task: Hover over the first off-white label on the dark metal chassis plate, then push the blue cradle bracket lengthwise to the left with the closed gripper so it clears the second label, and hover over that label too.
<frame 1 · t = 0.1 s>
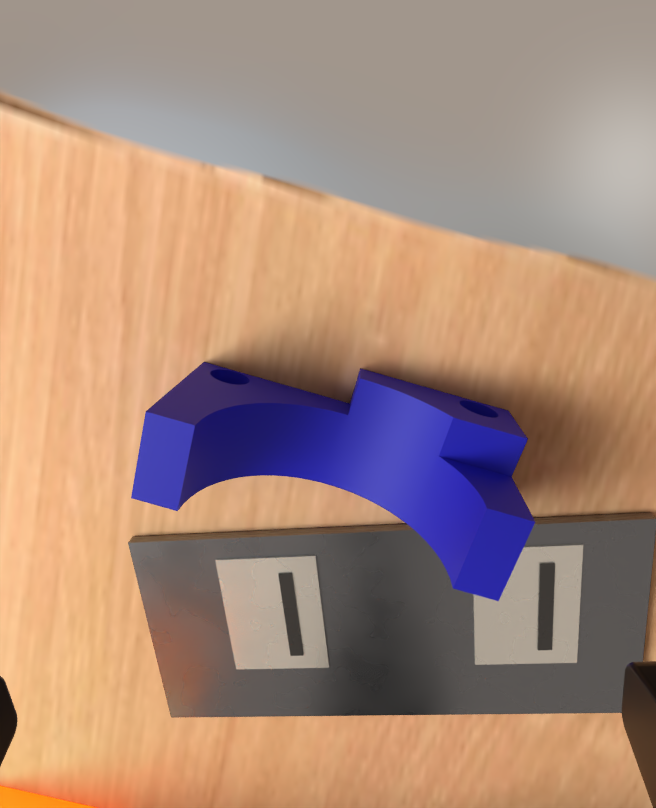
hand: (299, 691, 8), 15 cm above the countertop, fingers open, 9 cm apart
chassis plate: (386, 621, 25), on the countertop
blue cradle bracket: (345, 417, 22), on the countertop
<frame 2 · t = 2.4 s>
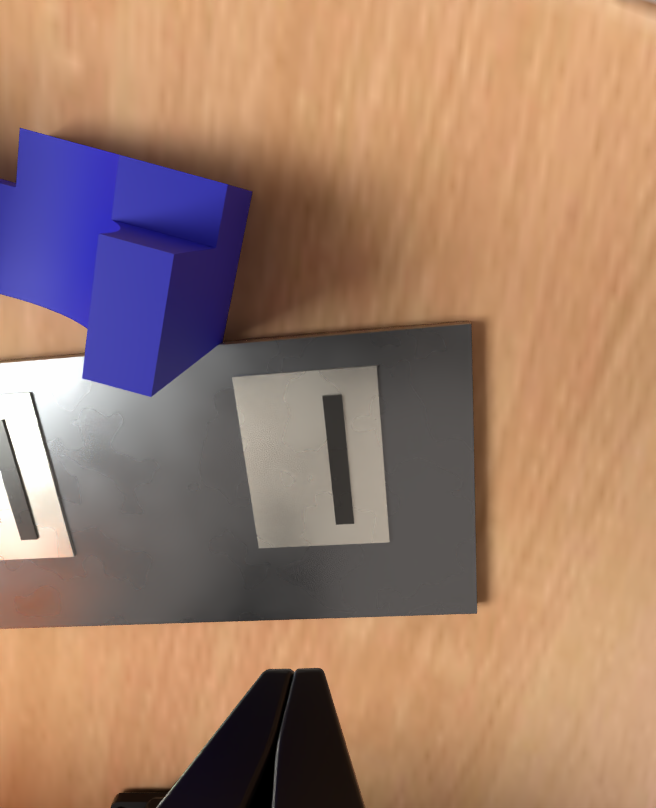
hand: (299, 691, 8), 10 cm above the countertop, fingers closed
chassis plate: (146, 493, 19), on the countertop
blue cradle bracket: (48, 216, 17), on the countertop, touching chassis plate
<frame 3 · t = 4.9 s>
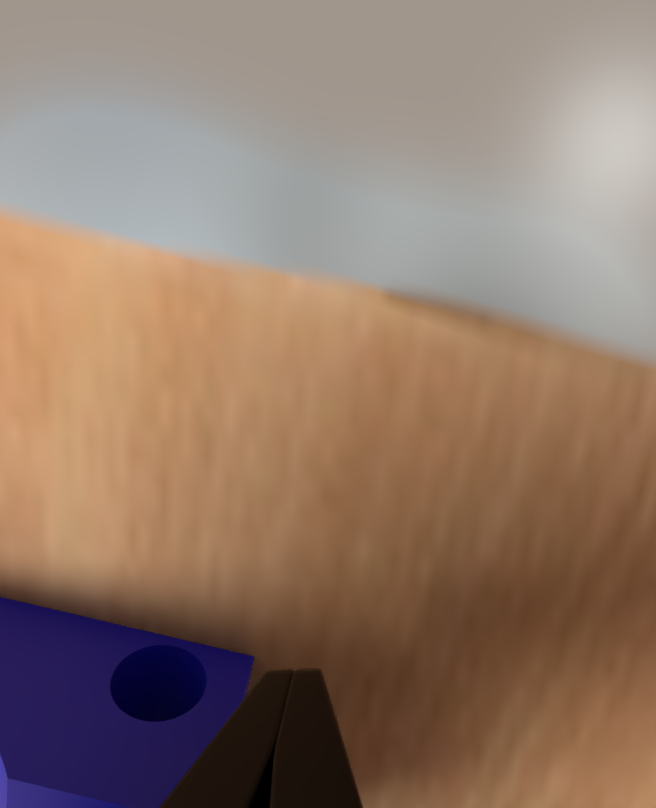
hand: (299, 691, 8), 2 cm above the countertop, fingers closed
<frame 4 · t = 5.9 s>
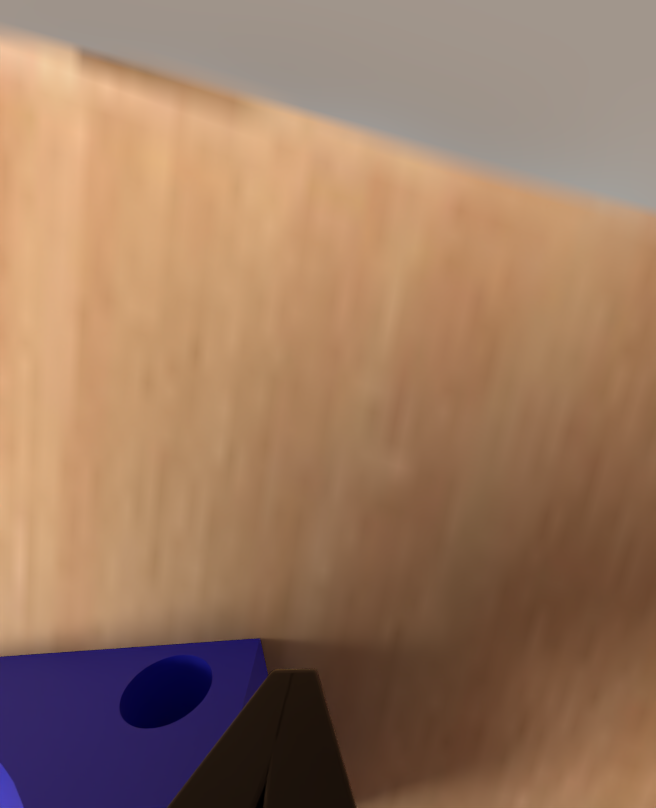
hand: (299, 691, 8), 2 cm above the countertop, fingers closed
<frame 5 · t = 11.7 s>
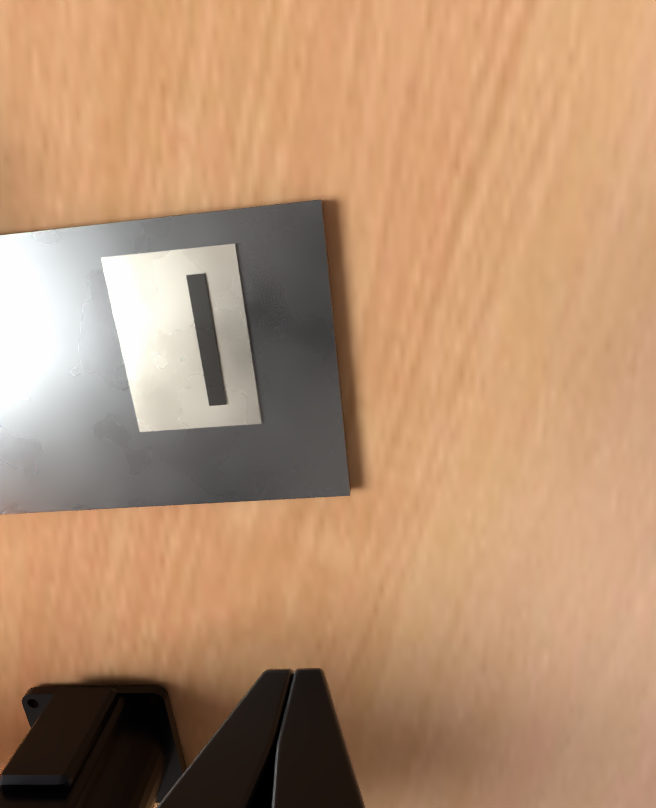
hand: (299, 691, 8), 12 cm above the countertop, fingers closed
chassis plate: (34, 381, 20), on the countertop
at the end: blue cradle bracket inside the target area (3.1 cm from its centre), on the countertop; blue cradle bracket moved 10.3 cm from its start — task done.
